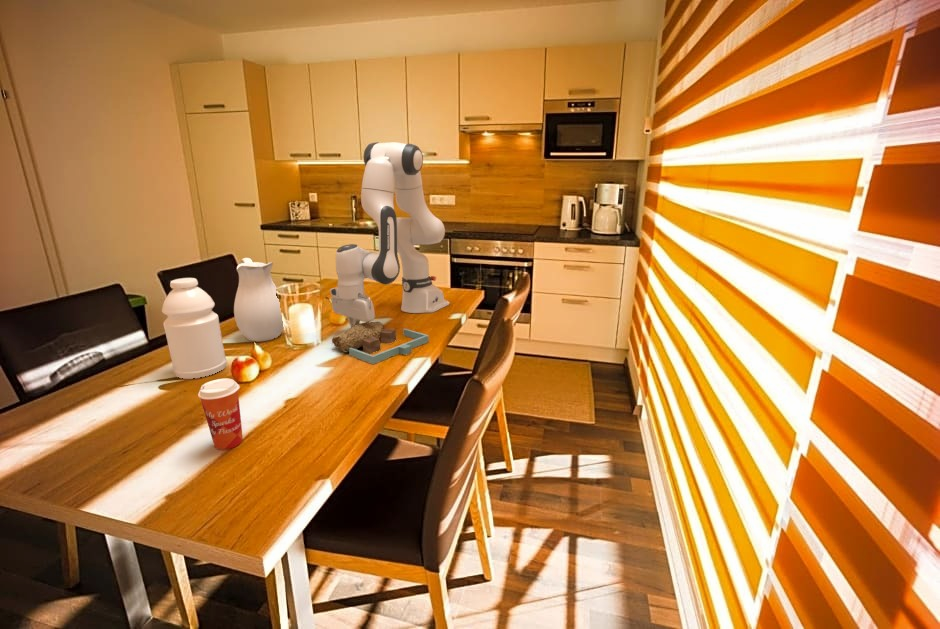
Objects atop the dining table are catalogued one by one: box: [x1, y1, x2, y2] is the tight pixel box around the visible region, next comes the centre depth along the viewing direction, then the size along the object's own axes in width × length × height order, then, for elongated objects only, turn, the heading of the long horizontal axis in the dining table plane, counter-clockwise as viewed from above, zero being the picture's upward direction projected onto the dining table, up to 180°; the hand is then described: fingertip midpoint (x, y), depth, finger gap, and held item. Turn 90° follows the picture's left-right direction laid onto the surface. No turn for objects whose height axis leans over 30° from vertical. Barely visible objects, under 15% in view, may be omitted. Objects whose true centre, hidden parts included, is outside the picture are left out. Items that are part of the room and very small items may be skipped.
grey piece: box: [348, 328, 430, 365], centre depth 153 cm, size 25×14×2 cm, turn 141°
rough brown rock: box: [331, 321, 385, 353], centre depth 158 cm, size 13×8×20 cm
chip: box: [362, 337, 381, 354], centre depth 152 cm, size 4×4×4 cm
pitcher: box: [233, 257, 284, 343], centre depth 166 cm, size 24×17×28 cm
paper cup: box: [198, 378, 244, 451], centre depth 99 cm, size 8×8×14 cm
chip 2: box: [379, 328, 397, 344], centre depth 160 cm, size 4×4×4 cm
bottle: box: [161, 277, 227, 380], centre depth 135 cm, size 14×14×28 cm
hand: (354, 328), depth 165 cm, fingers closed
